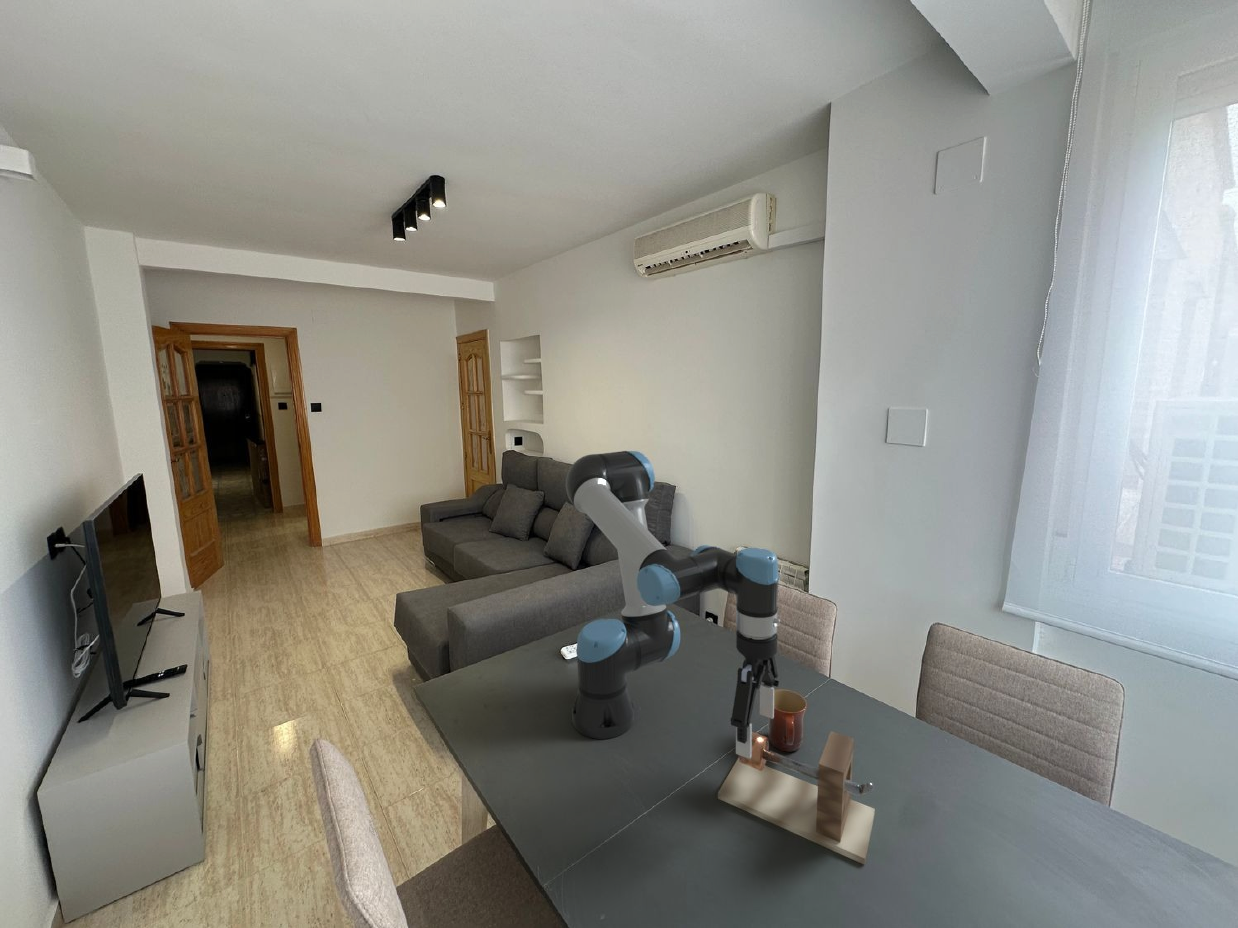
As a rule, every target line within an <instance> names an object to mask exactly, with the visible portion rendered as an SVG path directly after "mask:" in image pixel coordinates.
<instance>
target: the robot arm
mask: <svg viewBox="0 0 1238 928" xmlns="http://www.w3.org/2000/svg"><path fill="white" fill-rule="evenodd" d="M655 481H656V477H655V472H654V468H653V465H652V463H651V462H650V460H649V459H648V457H646V456H645V454H644V453H642V452H640V451H637V450H623V451H622V450H621V451H614V452H613V451H612V452H606V453H592V454H586V455H584V456H582V457H580V458H579V459H577V460H576V461H574V463H573V464H572V465H571V467H570V468H569V469H568V472H567V475H566V478H565V490H566V494H567V497H568V499H569V501H570V503H571V504H572V505H573V506H574V508H575V509H576V510H577V511H578V512H580V513H582V514H586V515H587V516H588V517H589V518H590V520H591V521H593V523H594V524H595V526H596V527H598V529H599V530H600V531H601V532H602V534H604V536H605V537H606V538H607V540H609V541H610V543H611V544H612V545H613V546H614V547H615V549H616V550H617V556H618V562H619V569H620V576H621V582H622V589H623V594H624V600H625V601H624V602H625V606H624V608H623V609H622V610H621V612H620V614H621V620H620V619H617V618H609V617H608V618H607V619H606V618H599V619H595V620H593V621H591V622H589V623H587V624H586V625H584V626H583V627H582V628H581V629H580V631H579V633H578V634H577V640H576V642H577V643H576V649H575V651H576V656H577V657H576V659H577V661H576V662H577V684H578V691H577V693H576V696H575V699H574V704H573V706H572V709H571V721H572V725H573V727H574V729H575V730H576V731H577V732H578V733H579V734H581V735H583V736H585V737H588V738H592V739H598V740H600V739H601V740H602V739H603V740H605V739H611V738H616V737H619V736H620V735H623V734H625V733H626V732H628V731H629V730H630V729H631V727H632V726H633V724H634V722H635V707H634V704H633V702H632V699H631V697H630V694H629V693H630V692H629V690H628V688H627V675H628V674H631V673H632V672H635V671H638V670H641V669H644V668H646V667H648V666H651V665H654V664H658V663H661V662H664V661H666V659H668V658H672V657H673V656H674V655H675V654H676V652H677V651H678V649H679V646H680V643H681V629H680V625H679V622H678V620H676V616H675V615H674V613H672V612H671V611H670V610H667V605H669V604H671V605H672V604H674V603H675V602H677V601H680V600H684V599H686V598H690V597H694V596H697V595H700V594H701V595H702V594H703V593H708V592H711V591H713V590H718V589H719V590H722V591H725V592H728V593H730V594H732V595H735V597H736V611H735V613H736V616H735V627H736V634H735V635H736V639H735V640H736V641H735V642H736V644H735V645H736V649H737V651H738V653H739V654H741V655H742V656H743V657H744V660H743V663H742V668H741V667H738V669H737V681H736V689H735V694H734V700H733V707H732V712H731V717H730V725H731V726H733V727H734V728H735V755H737V756H739V755H741V756H743V757H746V758H749V759H750V758H751V757H752V732H753V731H752V729H753V723H751V718H752V715H753V714H752V713H753V710H754V704H755V700H756V695H757V691H758V690H759V715H760V716H762V717H766V718H767V719H769V718H771V719H773V718H774V690H775V687H776V688H778V687H779V685H780V681H779V680H777V678H778V676H779V673H778V667H777V664H776V663H777V662H776V657H775V656H776V654H777V653H778V634H777V632H778V625H779V624H781V619H780V618H778V609H779V608H778V594H779V579H780V573H779V564H778V563H779V561H778V557H777V555H776V553H774V552H773V551H771V550H769V549H767V548H766V549H765V548H759V547H758V548H757V547H748V548H743V549H740V550H739V551H738V552H737V553H735V552H731V551H729V550H728V551H727V550H725V549H722V548H720V547H717V546H714V545H713V546H711V545H707V544H704V545H703V544H702V545H699V546H698V547H697V548H696V549H695V550H693V551H692V552H691V554H690V555H689V556H683V557H681V558H679V557H678V558H676V557H675V556H674V555H673V554H672V553H671V552H670V551H669V550H668V549H667V548H666V547H665V546H664V545H663V544H662V543H661V542H660V541H659V539H657V538H656V537H655V536H654V535H653V534H652V532H651V531H650V530H649V529H648V523H647V518H646V517H647V516H646V510H645V506H646V505H647V504H648V502H649V500H650V499H649V493H650V492H651V491H652V490H653V489H654V487H655V485H654V484H655Z"/></svg>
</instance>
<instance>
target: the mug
mask: <svg viewBox="0 0 1238 928" xmlns="http://www.w3.org/2000/svg"><path fill="white" fill-rule="evenodd" d="M807 708H808V702H807V700H806V698H805V697H803V696H802V695H801V694H799V692H798V693H797V692H795V691H793V690H790V689H784V688H783V689H782V688H781V689H780V688H779V689H774V718H773V719H771V718H767V719H768V720H767V734H768V739H769V743H770V744H771V745H772V746H773V747H775V748H776V749H778V750H780V751H782V752H791V753H792V752H795V751H797V750H799V749H800V748H801V746H802V744H803V739H804V715H805V713H806V710H807Z"/></svg>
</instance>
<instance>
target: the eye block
mask: <svg viewBox="0 0 1238 928" xmlns="http://www.w3.org/2000/svg"><path fill="white" fill-rule="evenodd" d="M854 741H855V739H854V737H850V736H847V735H844V734H840V733H837V732H835V731H832V730H831V731H830V733H829V736H828V737H827V741H826V743H825V746H824V749H823V751H822V754H821V756H820V760H819V761H818V769H819V770H818V780H817V786H818V794H817V818H816V832H817V833H819V834H822V835H824V836H826V837H828V838H831V839H833V840H835V841H837V842H841V838H842V834H843V830H844V826H845V823H846V819H847V815H848V811H849V807H850V803H851V800H852V793H850V792H847V791H845V780H846V779H847V780H849V781H852V779H853V765H854V764H853V762H854V761H853V760H854V743H855V742H854ZM852 782H853V781H852Z"/></svg>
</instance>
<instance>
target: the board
mask: <svg viewBox="0 0 1238 928" xmlns="http://www.w3.org/2000/svg"><path fill="white" fill-rule="evenodd" d="M817 794H818V785H815V784H812V783H810V782H808V781H806V780H803V779H800V778H797V777H795V776H792V775H790V774H787V773H785V772H782V771H779V770H777V769H775V768H772V767H770V766H768V765H765V766H764V768H763V770H762V771H760V770H758V769H755V768H753V767H750V766H748V765H745V764H743V763H740V761H739V757H738V758H737V760H736V762H735V763H734V764H733V766H732V768H731V770H730V771H729V773H728V775H727V777H726V779H725V780H724V782H723V783H722V785H721V787H720V789H718V792H717V799H718V800H720V801H723V802H725V803H728V804H729V805H731V806H734V807H736V808H737V809H740V810H743V811H745V812H747V813H749V814H751V815H753V816H756V817H758V818H760V819H762V820H765V821H767V822H769V823H771V824H774V825H776V826H777V827H780V828H782V829H784V830H787V831H788V832H791V833H792V834H795V835H798V836H800V837H802V838H804V839H807V840H808V841H811V842H813V843H815V844H818V845H819V846H822V847H824V848H826V849H829V851H833V852H835V853H836V854H837V853H838V854H840V855H842V856H843V857H846V858H848V859H850V860H853V861H855V862H857V863H859V864H861V865H864V866H865V864H866V859H867V854H868V849H869V843H870V839H871V835H872V829H873V824H874V819H875V810H876V809H875V808H873V807H871V806H868V805H867V804H863V803H861V802H858V801H856V800H853V799H851V803H850V807H849V811H848V815H847V819H846V823H845V826H844V830H843V834H842V838H841V842H837V841H835V840H833V839H831V838H828V837H826V836H824V835H822V834H819V833H817V832H816V818H817Z"/></svg>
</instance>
